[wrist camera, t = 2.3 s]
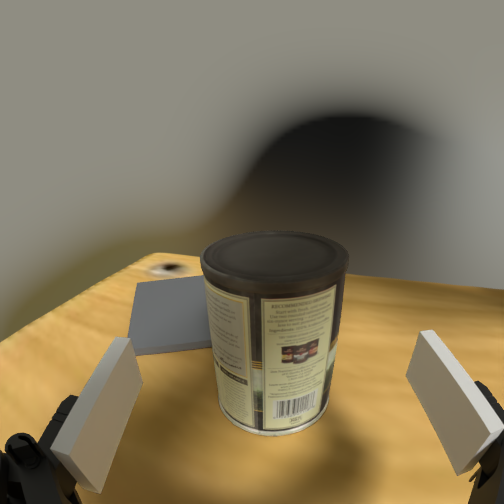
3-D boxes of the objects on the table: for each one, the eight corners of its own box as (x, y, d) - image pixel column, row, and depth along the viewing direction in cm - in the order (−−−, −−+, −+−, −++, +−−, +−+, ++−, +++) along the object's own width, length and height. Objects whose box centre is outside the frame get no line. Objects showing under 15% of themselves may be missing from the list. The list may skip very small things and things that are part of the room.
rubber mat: (245, 275, 52) (245, 270, 51) (281, 335, 35) (282, 328, 35) (138, 288, 48) (137, 282, 47) (128, 356, 31) (125, 349, 31)
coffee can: (272, 348, 33) (273, 223, 28) (350, 391, 26) (374, 248, 21) (195, 391, 27) (172, 250, 22) (272, 458, 19) (277, 300, 15)
